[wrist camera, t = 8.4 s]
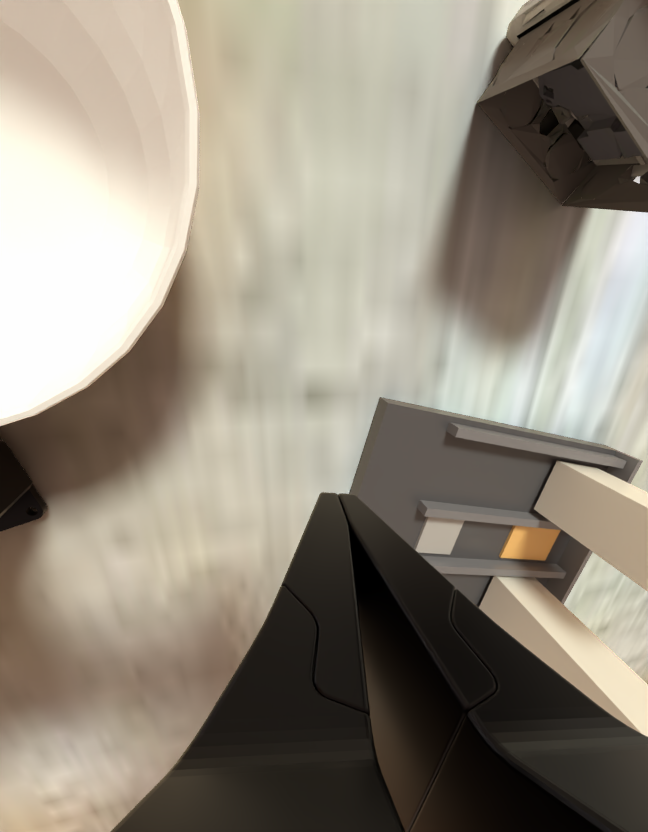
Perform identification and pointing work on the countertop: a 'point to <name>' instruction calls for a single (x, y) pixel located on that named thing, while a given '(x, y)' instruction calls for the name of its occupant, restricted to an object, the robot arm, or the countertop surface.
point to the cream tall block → (567, 647)
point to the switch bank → (475, 494)
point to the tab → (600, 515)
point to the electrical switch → (578, 98)
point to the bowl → (89, 186)
